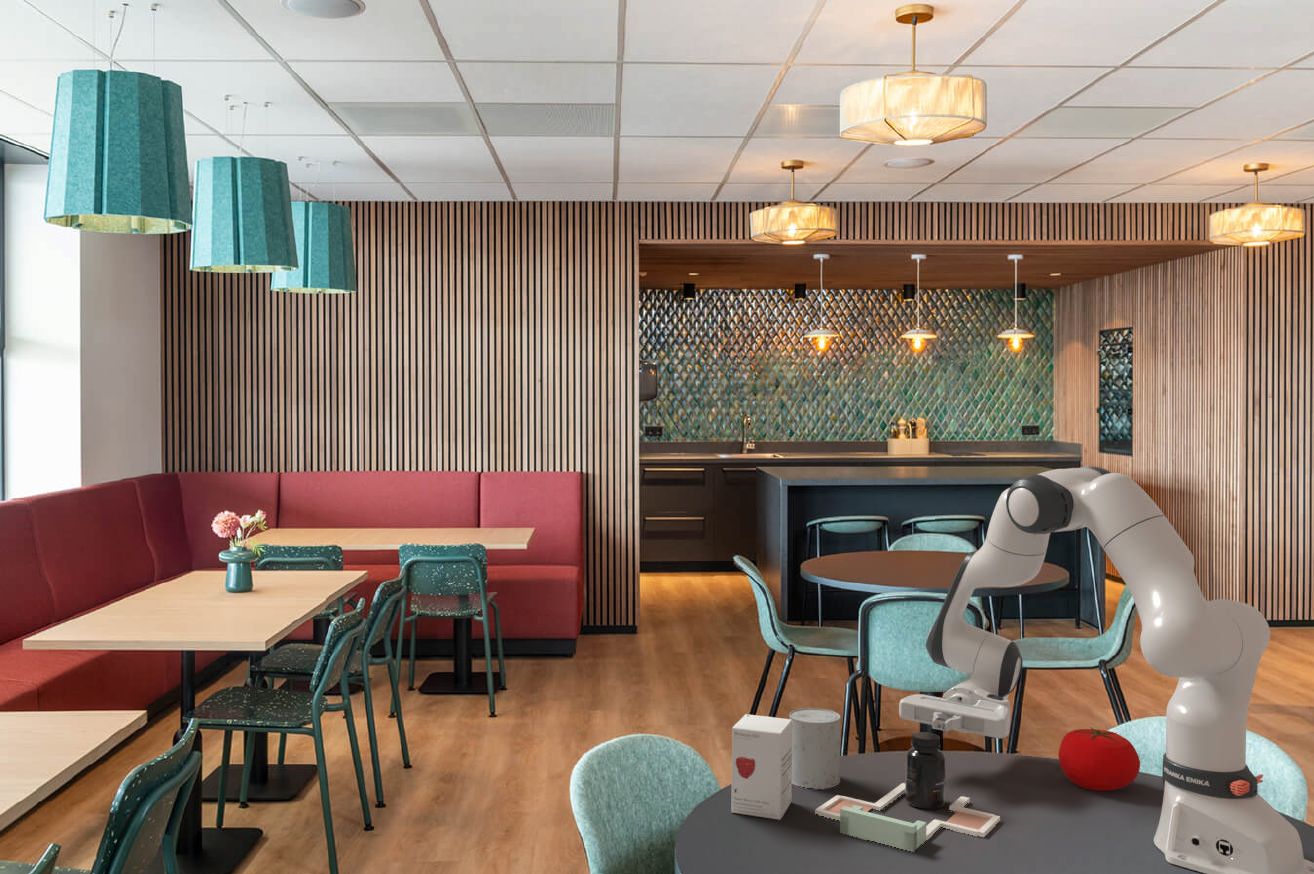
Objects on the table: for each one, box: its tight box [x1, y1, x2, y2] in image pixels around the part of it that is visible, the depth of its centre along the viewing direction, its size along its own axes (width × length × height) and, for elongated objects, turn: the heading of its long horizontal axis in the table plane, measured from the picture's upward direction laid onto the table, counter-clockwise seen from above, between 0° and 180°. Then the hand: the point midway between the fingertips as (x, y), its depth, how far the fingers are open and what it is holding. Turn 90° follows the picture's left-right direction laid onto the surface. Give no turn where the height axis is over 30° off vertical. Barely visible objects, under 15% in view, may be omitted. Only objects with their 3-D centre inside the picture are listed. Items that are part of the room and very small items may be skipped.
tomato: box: [1058, 727, 1141, 792], centre depth 186 cm, size 14×13×10 cm
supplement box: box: [730, 713, 793, 821], centre depth 175 cm, size 9×9×15 cm
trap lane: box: [814, 782, 1001, 853], centre depth 171 cm, size 26×26×4 cm
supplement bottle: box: [904, 731, 946, 810], centre depth 178 cm, size 7×7×12 cm
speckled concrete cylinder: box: [788, 707, 842, 790], centre depth 189 cm, size 10×10×12 cm
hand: (939, 725), depth 184 cm, fingers closed
